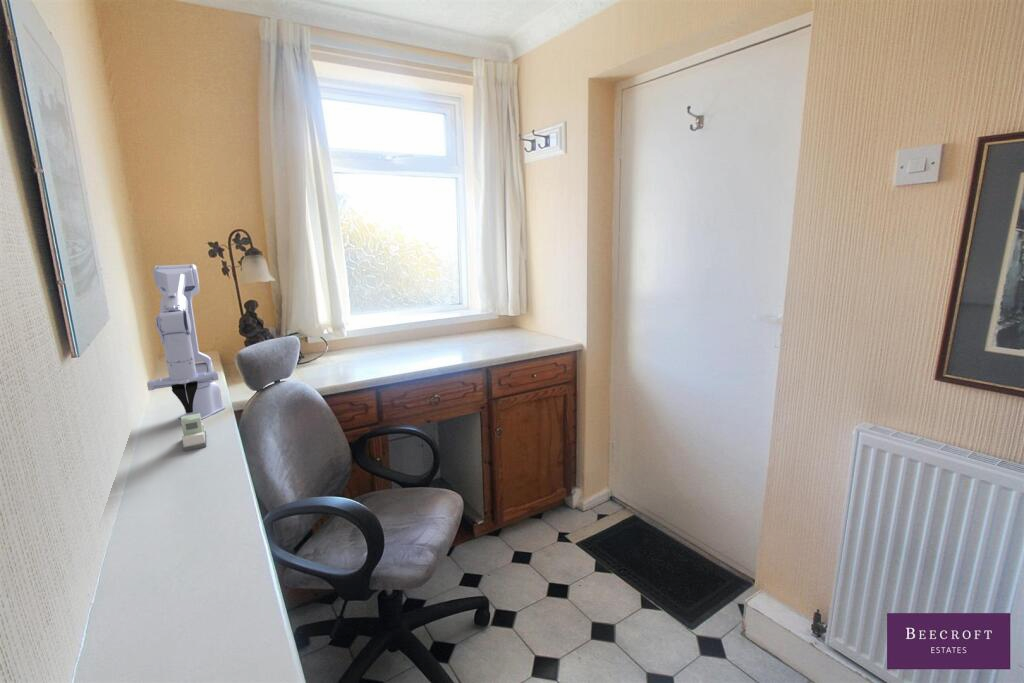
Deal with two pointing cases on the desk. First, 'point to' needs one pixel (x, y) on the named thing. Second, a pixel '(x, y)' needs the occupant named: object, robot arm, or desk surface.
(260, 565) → the desk surface
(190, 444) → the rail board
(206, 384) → the robot arm
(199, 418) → the sage module
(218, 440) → the desk surface
